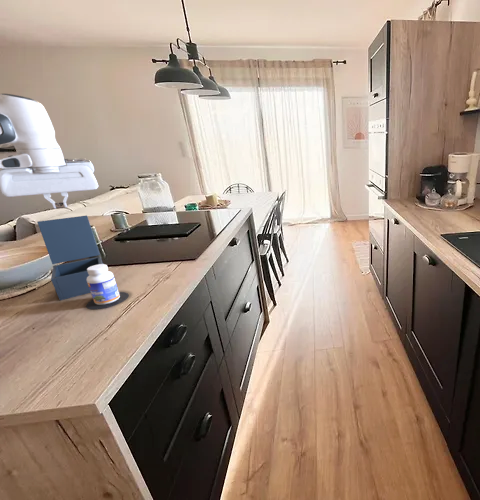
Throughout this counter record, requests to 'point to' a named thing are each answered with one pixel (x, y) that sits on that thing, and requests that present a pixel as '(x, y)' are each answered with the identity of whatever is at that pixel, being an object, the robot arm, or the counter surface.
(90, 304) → the coaster
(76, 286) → the box
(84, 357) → the counter surface
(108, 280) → the pill bottle
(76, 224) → the box lid
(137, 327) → the counter surface
